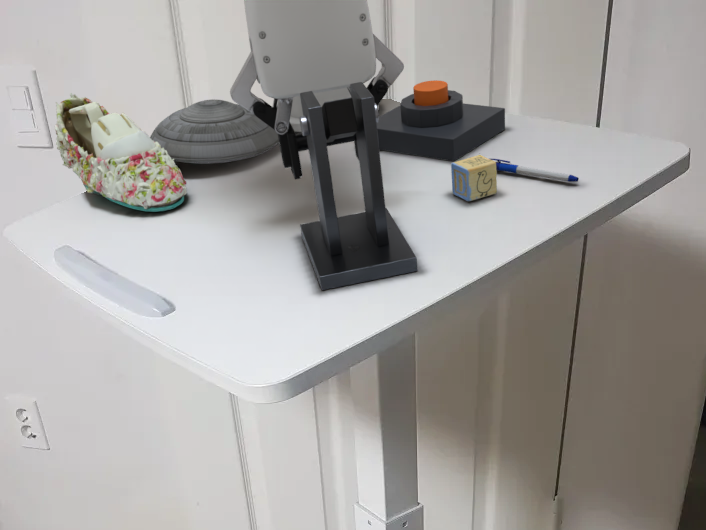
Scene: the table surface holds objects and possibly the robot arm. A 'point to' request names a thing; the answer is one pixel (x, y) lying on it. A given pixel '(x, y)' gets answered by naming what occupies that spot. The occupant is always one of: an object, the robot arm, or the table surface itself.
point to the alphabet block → (474, 178)
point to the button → (430, 93)
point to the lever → (335, 123)
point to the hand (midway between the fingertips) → (329, 165)
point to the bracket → (356, 229)
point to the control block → (438, 127)
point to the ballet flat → (116, 157)
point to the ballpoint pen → (533, 171)
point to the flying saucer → (214, 133)
